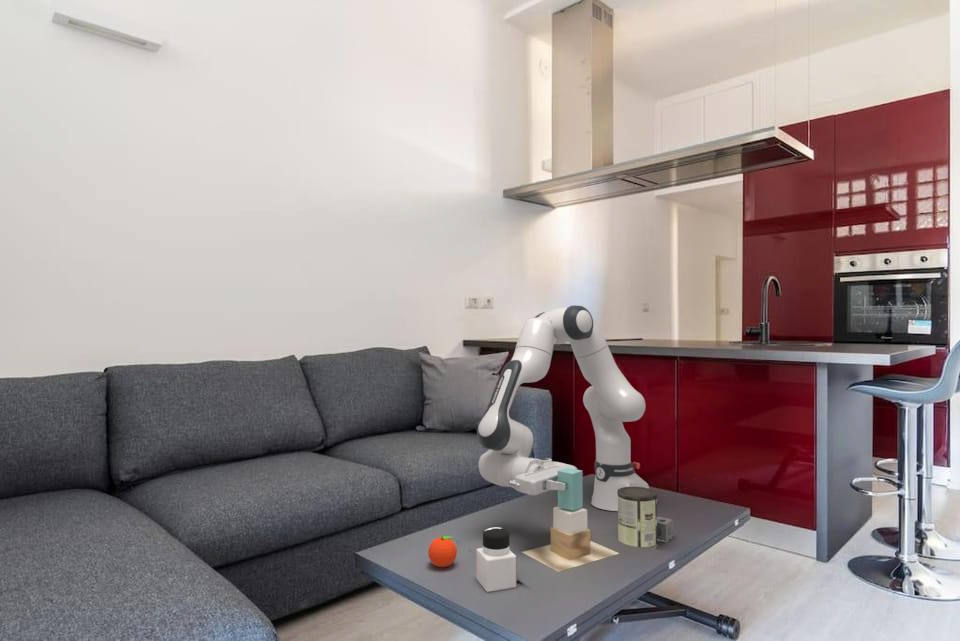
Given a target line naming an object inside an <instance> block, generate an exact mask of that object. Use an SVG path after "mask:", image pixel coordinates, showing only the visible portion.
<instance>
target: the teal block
mask: <svg viewBox="0 0 960 641" xmlns="http://www.w3.org/2000/svg"><path fill="white" fill-rule="evenodd" d="M583 474H584V473H583V470H581V469H577V470H576V469H571V468H565V469H562V470H559V471H558V482H567V484H568V486H567V487H568V489H567V490H564V491H562V490H557V507H560V508H564V509H568V510H572V511H573V510H576V509H578V508H580V507H581V508H583V506H584V504H583V502H584V500H583V499H584V493H583V490H584V489H583V484H584V483H583V481H584V480H583V478H584V476H583Z"/></svg>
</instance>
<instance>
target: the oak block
mask: <svg viewBox="0 0 960 641" xmlns="http://www.w3.org/2000/svg"><path fill="white" fill-rule="evenodd" d="M590 541H591V530H590V529H589V528H587V530H585V531H582V532H578V533H574V534H570V535H569V534H567V533H564V532H562V531H560V530H558V529H556V528H553V526H551V527H550V545H551V552H553V553H555V554H557V555H559V556H561V557H563V558H565V559H567V560H573V559H576V558H580V557H583V556H586V555H590Z"/></svg>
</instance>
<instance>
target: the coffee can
mask: <svg viewBox="0 0 960 641" xmlns="http://www.w3.org/2000/svg"><path fill="white" fill-rule="evenodd" d="M617 494H618V511H617V526H618V527H617V528H618V530H617V533H618V537H617V538H618V541H619V542H620V543H622V544H624V545H628V546H630V547H637V548H652V549H654V548H655V547H656V546H657V545H658V541H657V517H658V511H657V510H658V505H657V504H658V503H657V501H658V499H657V498H658V492H657V491H655V490H654V489H652V488H650V487H649V488H644V487H623V488H620V489H618V490H617ZM657 547H658V546H657Z"/></svg>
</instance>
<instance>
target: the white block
mask: <svg viewBox="0 0 960 641" xmlns="http://www.w3.org/2000/svg"><path fill="white" fill-rule="evenodd" d="M552 509H553V510H552V511H553V512H552V513H553V515H552V518H553V520H552V521H553V522H552V527H553V528H556V529H558V530H560V531H562V532H564V533H567V534H569V535H570V534H574V533H578V532H582V531H585V530H587V529H588V509H587V508H583V507H580V508H578V509H576V510H573V511H572V510H568V509H564V508H560V507H558V506H555V507H553V508H552Z"/></svg>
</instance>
